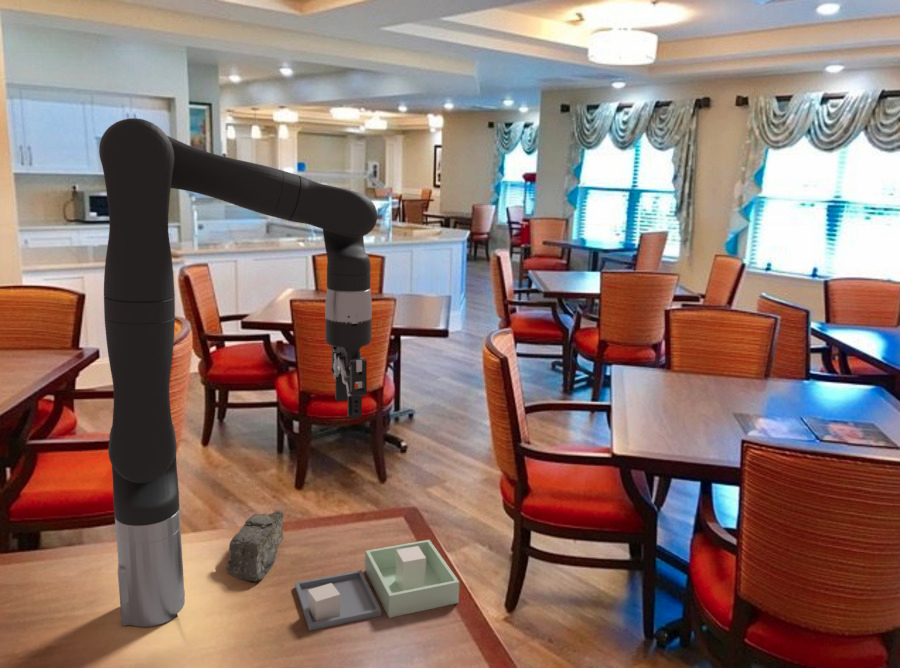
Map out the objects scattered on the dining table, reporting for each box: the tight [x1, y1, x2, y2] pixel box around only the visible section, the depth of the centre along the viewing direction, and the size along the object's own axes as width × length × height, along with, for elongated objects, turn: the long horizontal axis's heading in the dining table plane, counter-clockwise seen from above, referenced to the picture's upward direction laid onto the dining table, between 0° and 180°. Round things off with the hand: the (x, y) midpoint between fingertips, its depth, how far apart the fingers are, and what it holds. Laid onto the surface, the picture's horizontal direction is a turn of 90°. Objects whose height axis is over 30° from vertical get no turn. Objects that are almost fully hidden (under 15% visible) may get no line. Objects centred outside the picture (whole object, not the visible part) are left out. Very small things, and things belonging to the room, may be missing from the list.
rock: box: [225, 509, 284, 582], centre depth 127 cm, size 17×7×10 cm
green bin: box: [364, 539, 460, 619], centre depth 121 cm, size 12×14×4 cm
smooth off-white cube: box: [308, 583, 340, 622], centre depth 112 cm, size 4×4×4 cm
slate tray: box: [294, 569, 382, 632], centre depth 116 cm, size 12×12×2 cm
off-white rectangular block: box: [395, 546, 426, 591], centre depth 121 cm, size 4×4×6 cm
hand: (348, 408), depth 120 cm, fingers open, 8 cm apart
